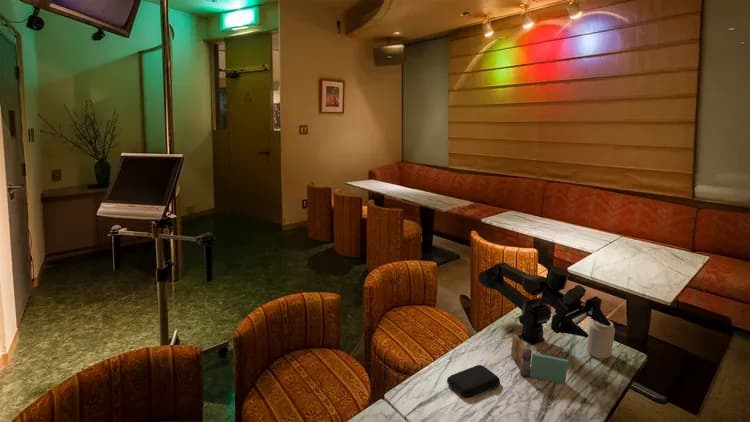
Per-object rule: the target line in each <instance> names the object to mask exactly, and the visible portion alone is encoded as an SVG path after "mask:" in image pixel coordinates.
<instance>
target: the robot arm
mask: <svg viewBox="0 0 750 422" xmlns="http://www.w3.org/2000/svg"><path fill="white" fill-rule="evenodd" d="M547 267H548V269H547V274H546V276H543V275H538V274H530V273H527V272H524V271H522V270H520V269H519V268H516V267H514V266H513V265H512V266H511V265H509V264H508V263H507V262H503V261H502V262H499V263H495V264H494V265H492V266H491V267H489V268H488V269H486V270H482V271H480V273H479V275H478V281H479V284H481V285H482V286H483V287H485V288H487V289H491V290H495V291H496V292H498V293H499V294H501V295H502V296H503V297H504V298H506V300H508V301H509V302H510V303H512V304H513V305H514V306H516V307H517V308H518V309H520V311H521V314H522V315H520V316H518V321H519V323H520V325H522V330H521V334H518V337H519V339H521V340H523V341H526V343H528V344H529V345H532V346H533V345H535V344H536V345H537V344H538V343H542V342H544V341H545V338H544V324H547V323H548V321H549V320H551V324H550V328H551V330H552V331H553V332H554V333H555V334H559V333H560V334H567V335H573V336H579V337H583V338H587V339H588V335H589V333H588V332H586V331H585V330H584V329H583V328H581V327H580V326H579V325H578V324H577V323H575V322H574V321H573V320H575V319H577V318H580V317H581V316H584V315H585V316H587V317H590V319H591V320H592V321H593V320H595V321H597V322H599V323H601V324H604V325H606V326H610V322H609V321H610V320H609V319H608V318H607V317H606V316H605V314H604V312H603V311H602V310H601V309H602V308H601V307H602V302H603V300H602V299H601V298H600V297H599V296H597V295H595V296H592V297H590V298H587V299H586V300H585V304H584V306H581V305H582V303H583V301H582V298H583V297H584V296H585V295H586V293H587V289H586V288H585V287H584V286H582V285H580V284H577V285H575V286H574V287H572V288H570V289H569V290H567V291H566V292H565V294H564V293H562V292H561V290H565V288H566V286H567V283H568V279H569V276H570V271H569V270H568V269H567V268H563V267H560V266H556V265H553V264H552V265H549V266H547ZM505 278H506V279H507V280H510V281H512V282H514V283H516V284H517V285H519V286H521V287H522V289H523V290H524V291H525V292H526V293H527V294H529V295H530V296H534V297H535V296H537V295H541V297H535V298H533V299H531V298H529V297H527V295H524V294H523V293H522V292H520V291H519V290H518V289H516V288H515V287H514V286H513V285H511V284H509V282H508V281H506V280H505ZM548 305H549V306H548ZM550 307H551V308H553V309H554V313H555V314H553V315H552V312H551V308H550ZM608 320H609V321H608Z"/></svg>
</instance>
